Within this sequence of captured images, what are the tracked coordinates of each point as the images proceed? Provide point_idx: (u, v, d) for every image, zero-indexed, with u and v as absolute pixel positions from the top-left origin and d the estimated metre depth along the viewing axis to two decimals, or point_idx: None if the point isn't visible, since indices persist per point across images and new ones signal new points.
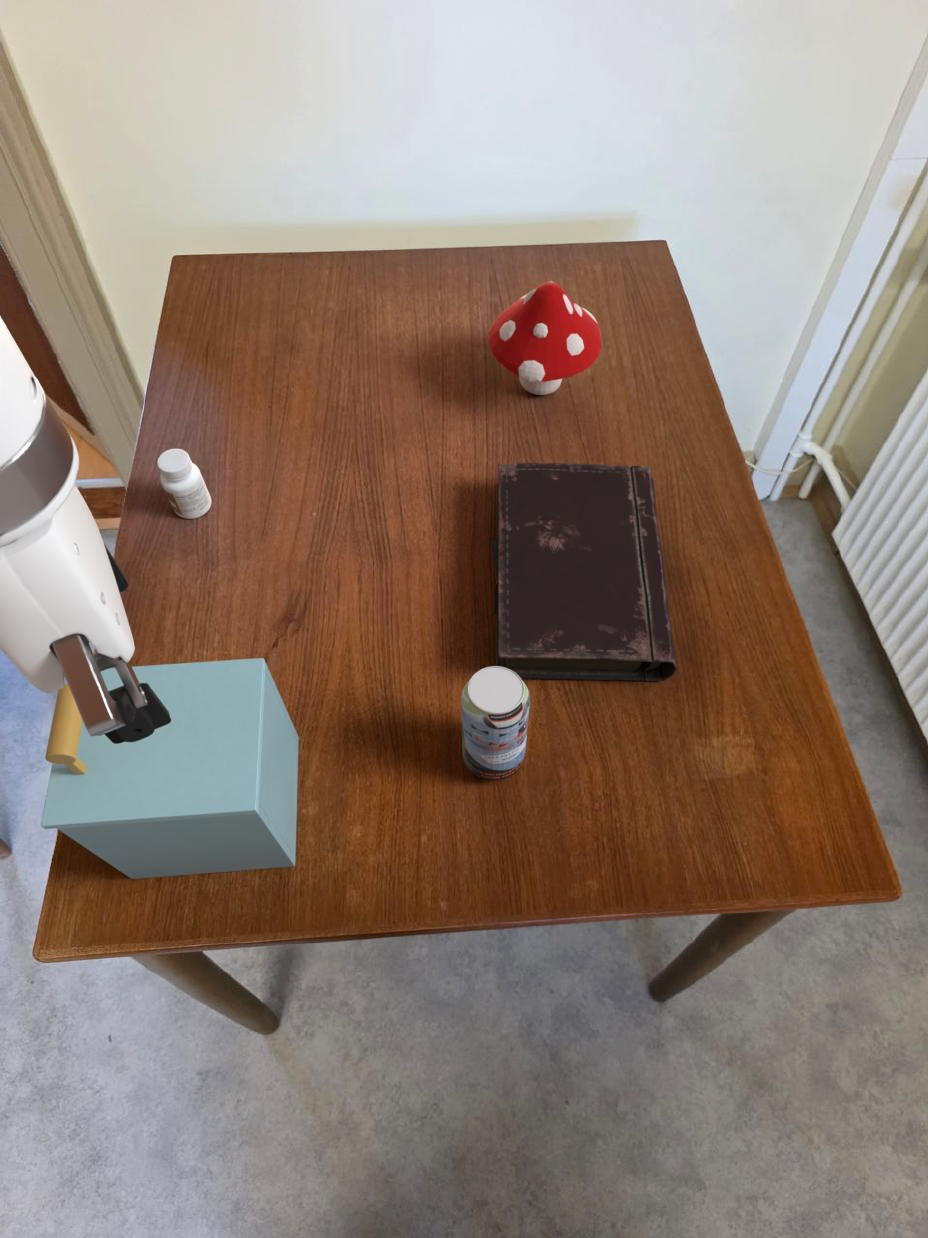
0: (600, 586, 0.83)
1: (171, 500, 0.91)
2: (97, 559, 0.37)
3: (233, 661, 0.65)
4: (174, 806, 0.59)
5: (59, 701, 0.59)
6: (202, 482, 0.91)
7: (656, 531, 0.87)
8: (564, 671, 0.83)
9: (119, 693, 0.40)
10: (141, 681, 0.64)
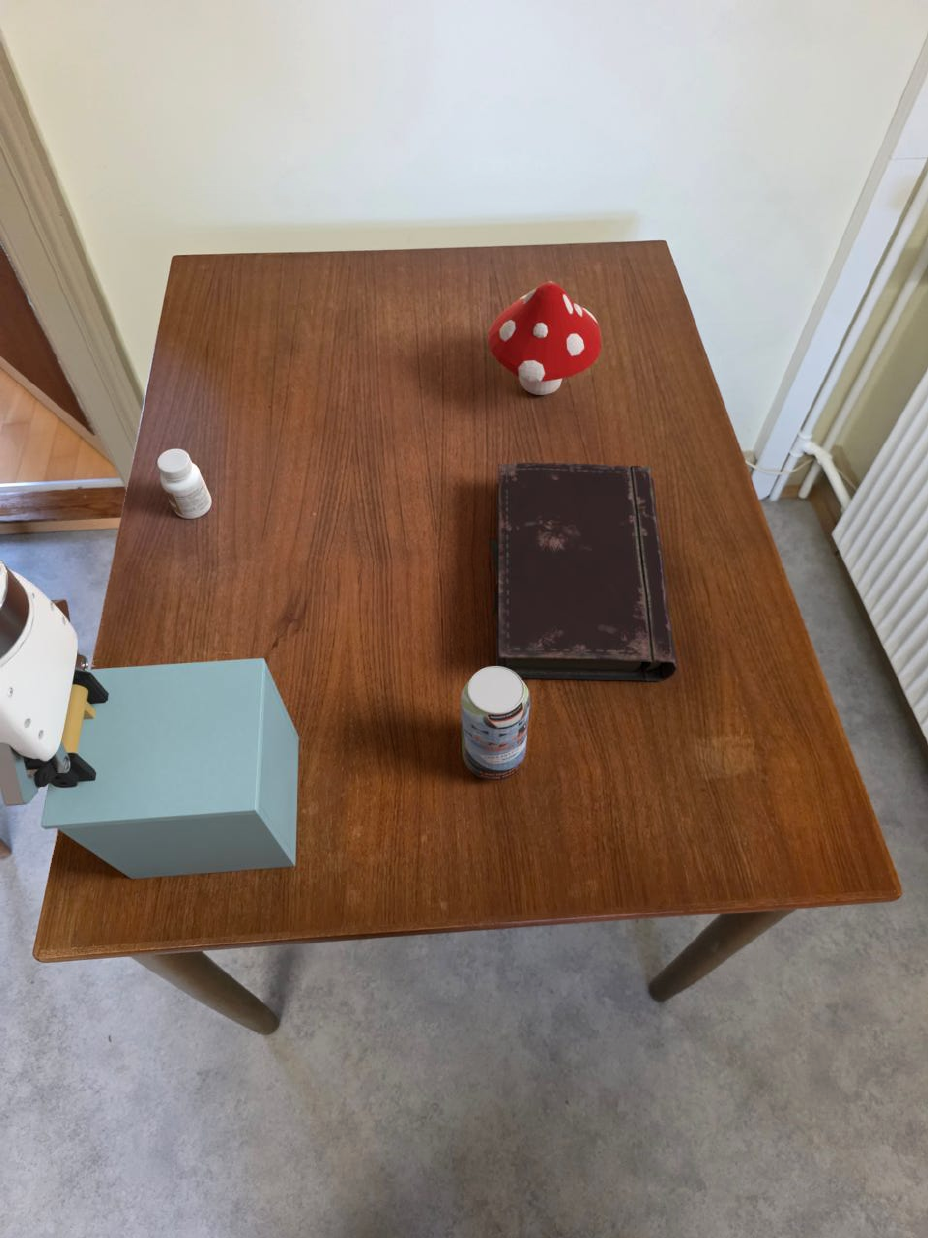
0: (600, 586, 0.83)
1: (171, 500, 0.91)
2: (37, 691, 0.50)
3: (233, 661, 0.65)
4: (174, 806, 0.59)
5: None
6: (202, 482, 0.91)
7: (656, 531, 0.87)
8: (564, 671, 0.83)
9: (48, 760, 0.54)
10: (141, 681, 0.64)
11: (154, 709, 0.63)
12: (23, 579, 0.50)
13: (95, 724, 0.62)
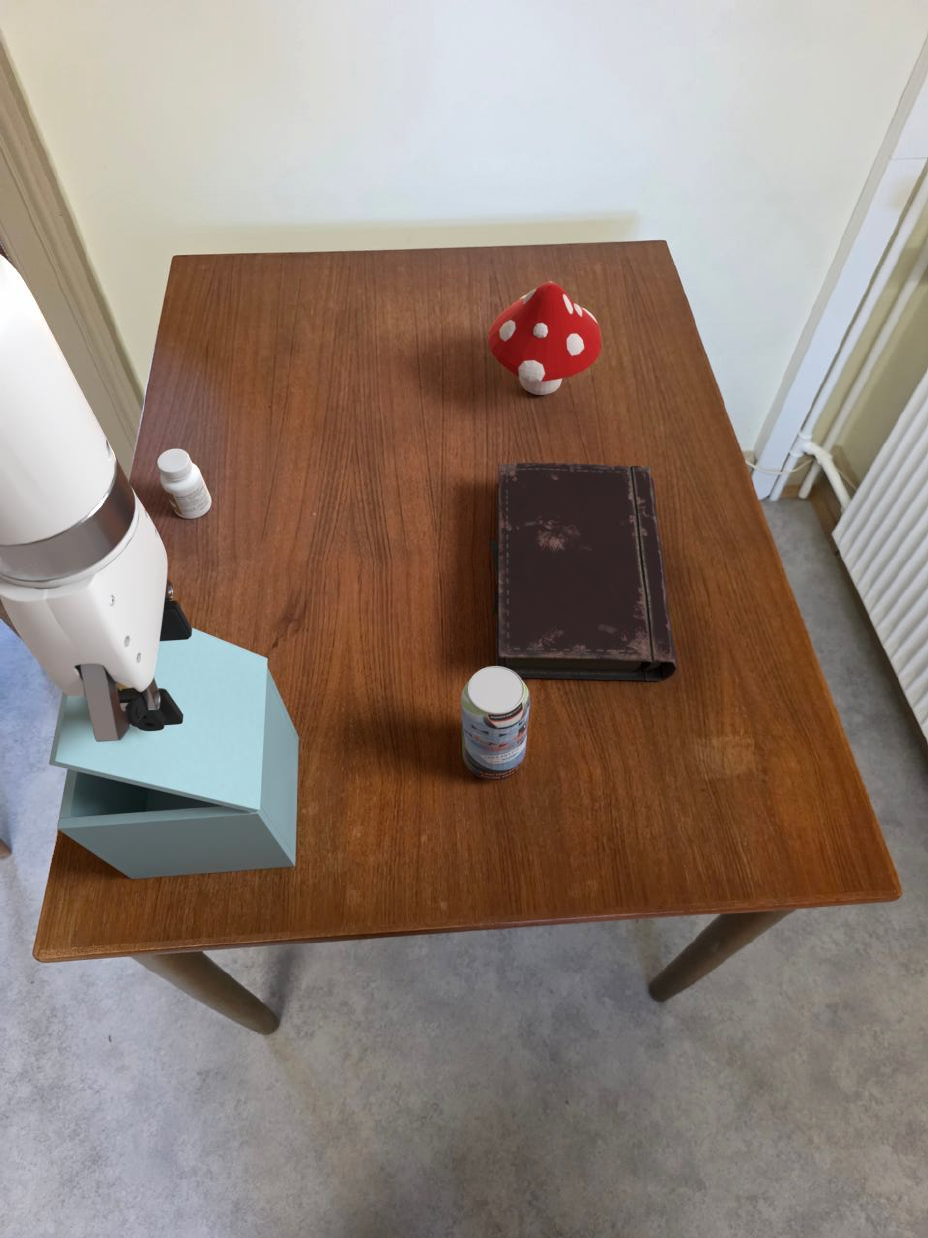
0: (600, 586, 0.83)
1: (171, 500, 0.91)
2: (136, 605, 0.42)
3: (243, 650, 0.64)
4: (191, 783, 0.55)
5: None
6: (202, 482, 0.91)
7: (656, 531, 0.87)
8: (564, 671, 0.83)
9: (137, 694, 0.47)
10: None
11: (173, 669, 0.58)
12: None
13: None
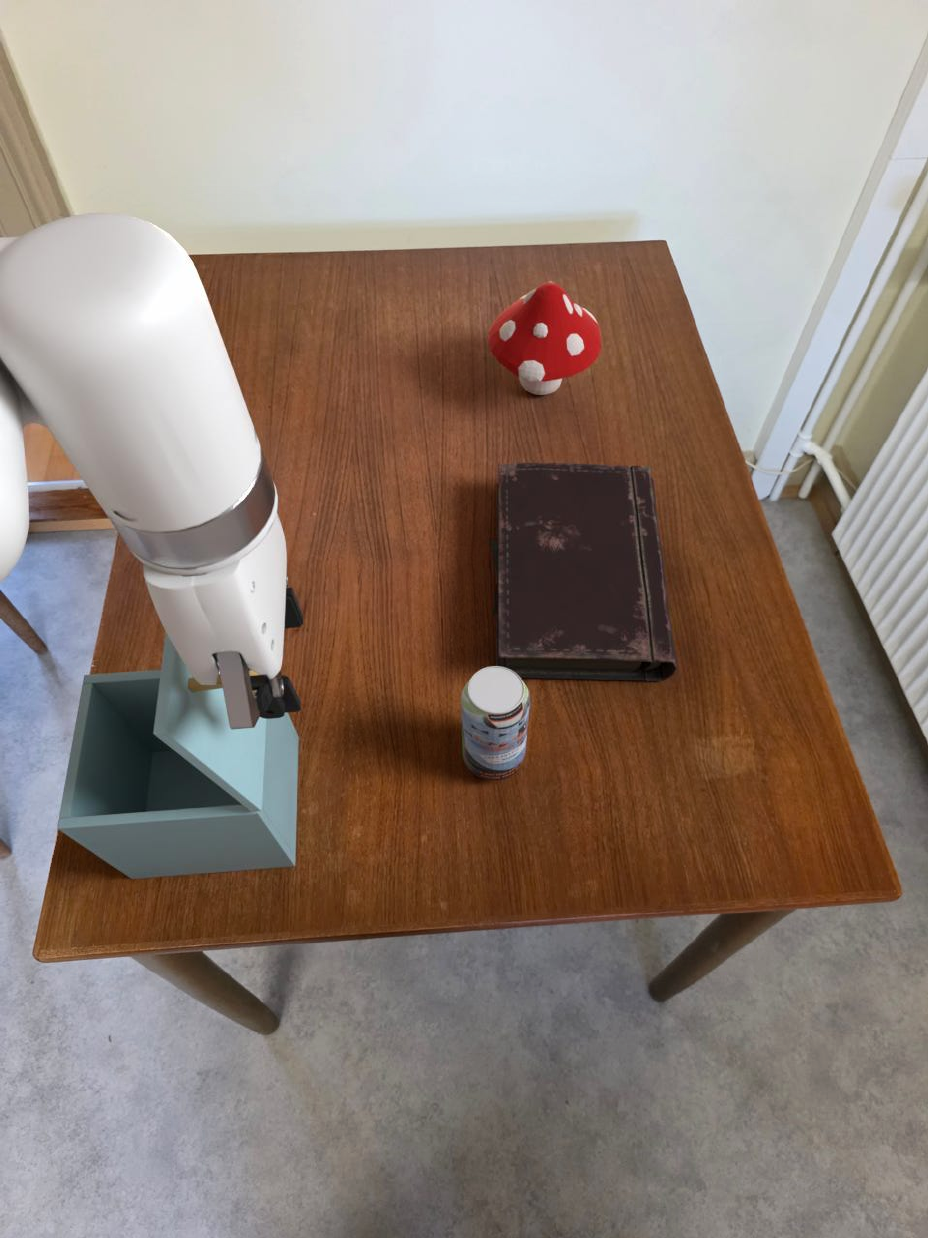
0: (600, 586, 0.83)
1: None
2: (270, 592, 0.42)
3: None
4: (231, 774, 0.55)
5: None
6: None
7: (656, 531, 0.87)
8: (564, 671, 0.83)
9: (263, 681, 0.47)
10: None
11: None
12: None
13: None
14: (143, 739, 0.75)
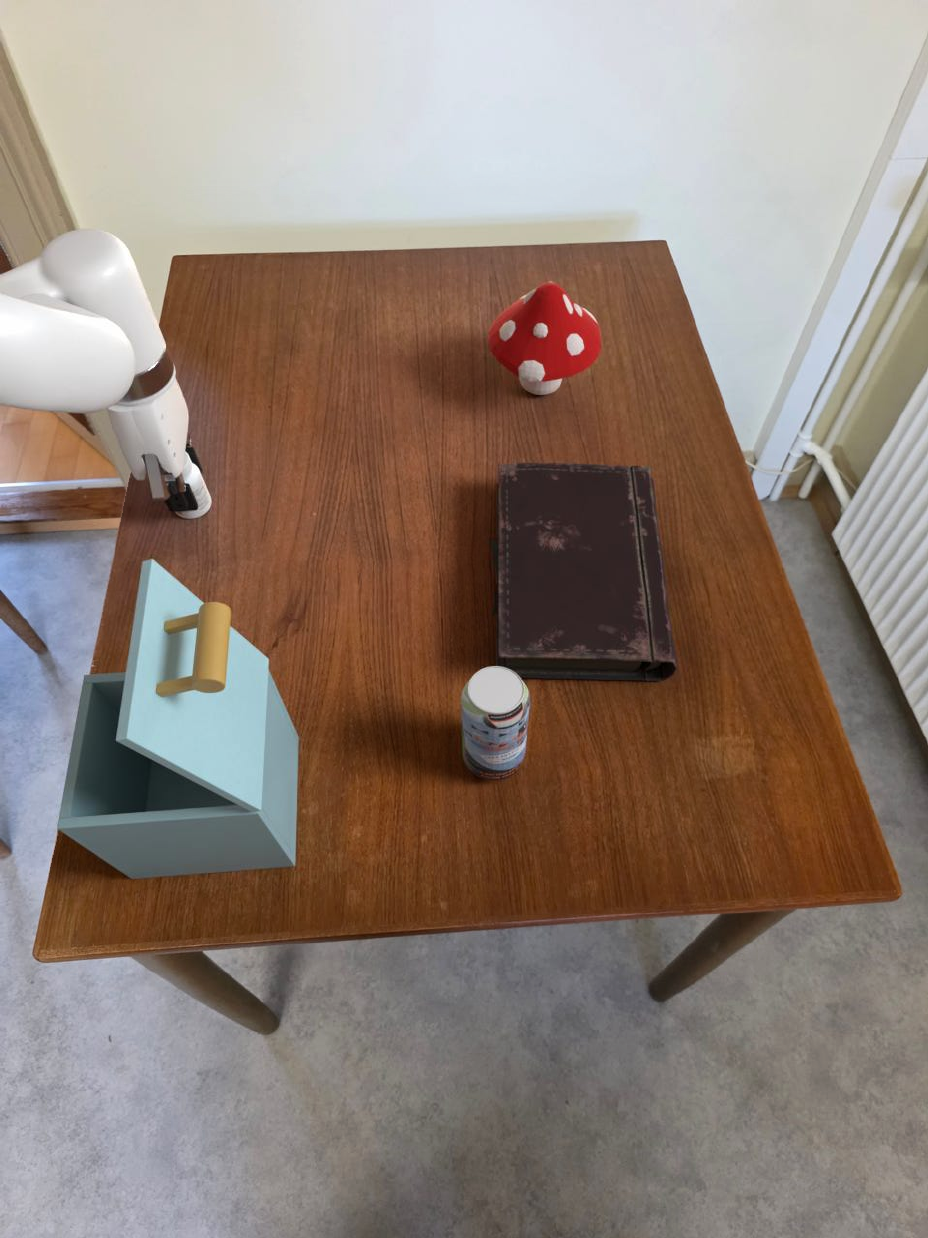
0: (600, 586, 0.83)
1: None
2: (173, 425, 0.81)
3: (254, 647, 0.64)
4: (218, 776, 0.55)
5: (223, 622, 0.51)
6: (202, 482, 0.91)
7: (656, 531, 0.87)
8: (564, 671, 0.83)
9: (173, 481, 0.86)
10: None
11: None
12: None
13: (170, 642, 0.53)
14: None
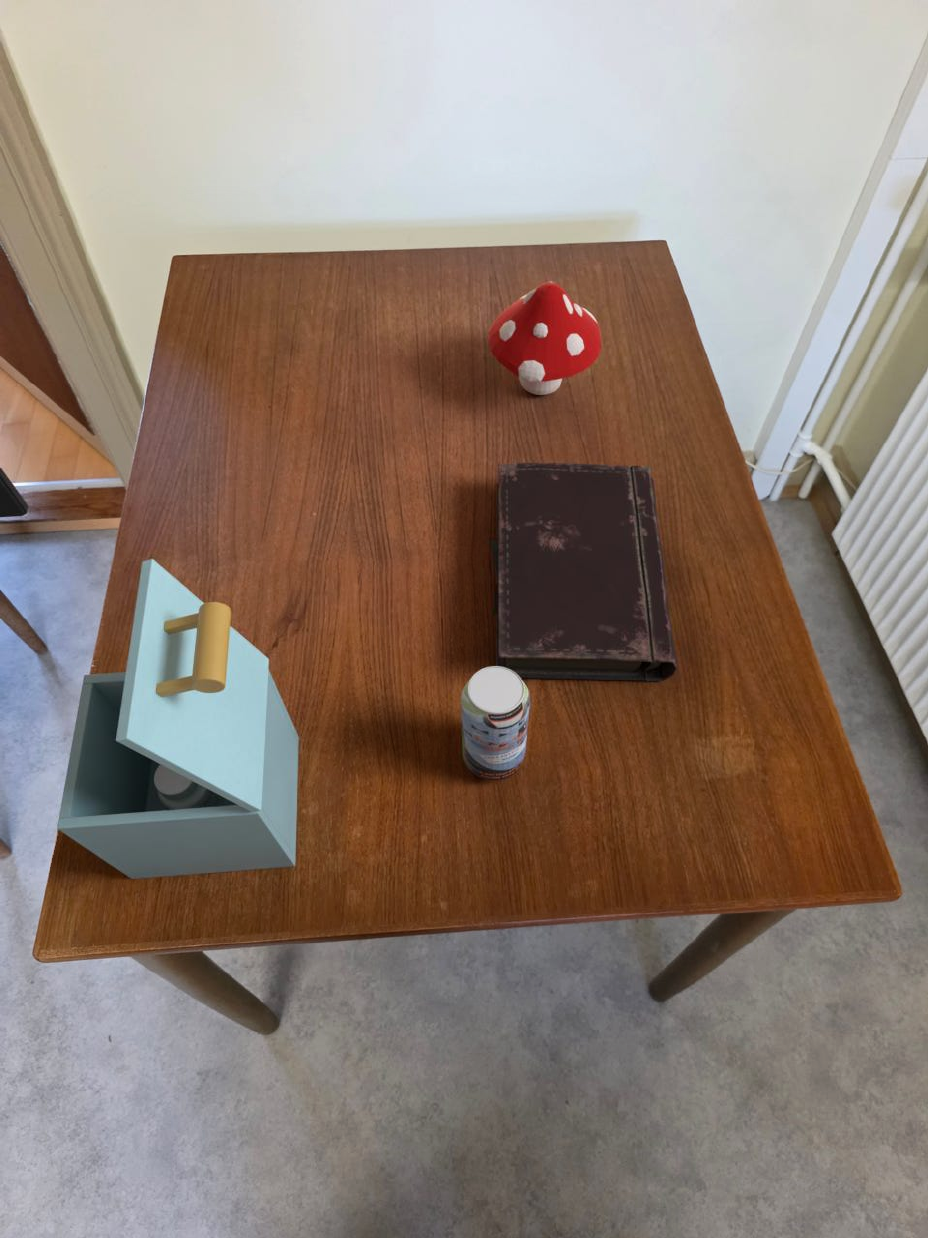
0: (600, 586, 0.83)
1: None
2: None
3: (254, 647, 0.64)
4: (218, 776, 0.55)
5: (223, 622, 0.51)
6: None
7: (656, 531, 0.87)
8: (564, 671, 0.83)
9: None
10: None
11: None
12: None
13: (170, 642, 0.53)
14: None
